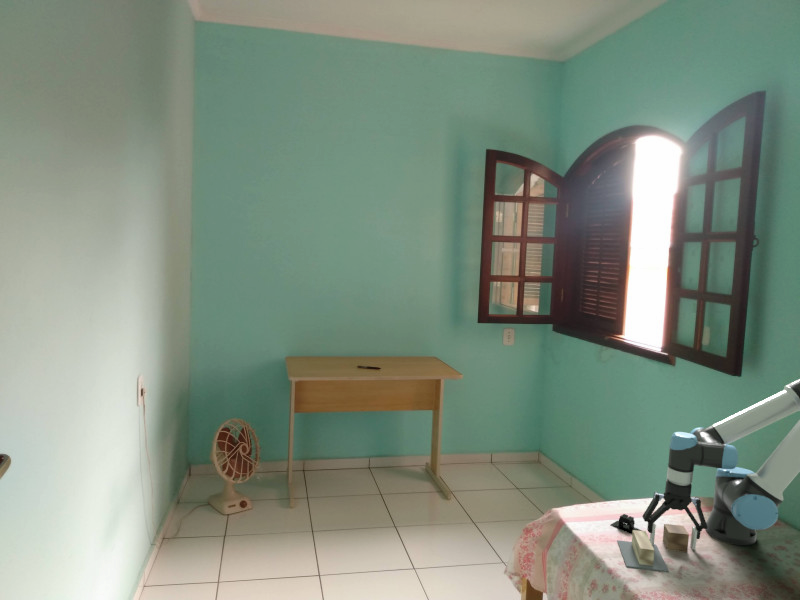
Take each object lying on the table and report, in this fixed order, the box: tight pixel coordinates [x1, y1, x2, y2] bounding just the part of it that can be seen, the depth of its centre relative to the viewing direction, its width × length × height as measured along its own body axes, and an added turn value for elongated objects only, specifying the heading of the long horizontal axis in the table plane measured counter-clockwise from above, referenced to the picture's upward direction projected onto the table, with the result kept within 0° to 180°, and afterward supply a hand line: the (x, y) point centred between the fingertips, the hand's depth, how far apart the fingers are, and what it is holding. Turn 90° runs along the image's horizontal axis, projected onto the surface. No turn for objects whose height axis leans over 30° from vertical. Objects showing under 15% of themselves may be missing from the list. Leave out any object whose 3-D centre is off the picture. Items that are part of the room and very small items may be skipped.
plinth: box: [631, 530, 654, 566], centre depth 191 cm, size 4×12×5 cm, turn 170°
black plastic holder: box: [609, 513, 643, 535], centre depth 209 cm, size 12×7×5 cm, turn 41°
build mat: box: [617, 539, 670, 573], centre depth 191 cm, size 12×16×1 cm
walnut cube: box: [662, 523, 690, 553], centre depth 198 cm, size 6×6×6 cm
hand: (671, 544), depth 198 cm, fingers open, 12 cm apart
